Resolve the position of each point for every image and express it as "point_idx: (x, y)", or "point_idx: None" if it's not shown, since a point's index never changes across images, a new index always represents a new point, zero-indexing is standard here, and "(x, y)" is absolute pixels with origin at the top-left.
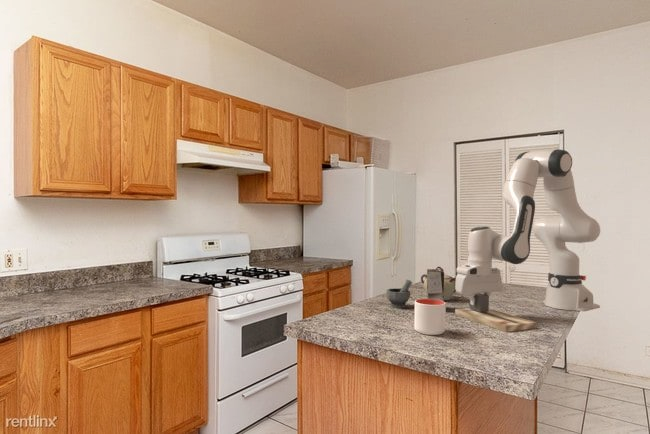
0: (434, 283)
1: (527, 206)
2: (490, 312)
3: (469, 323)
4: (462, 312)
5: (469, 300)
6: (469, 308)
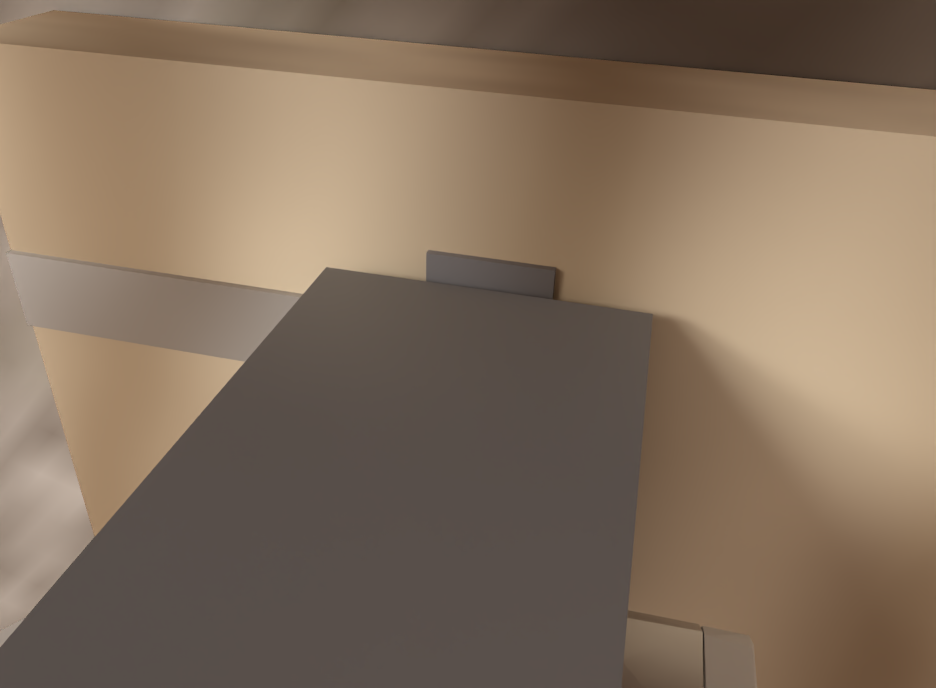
0: None
1: None
2: None
3: (31, 557)
4: (45, 315)
5: (198, 421)
6: (328, 274)
